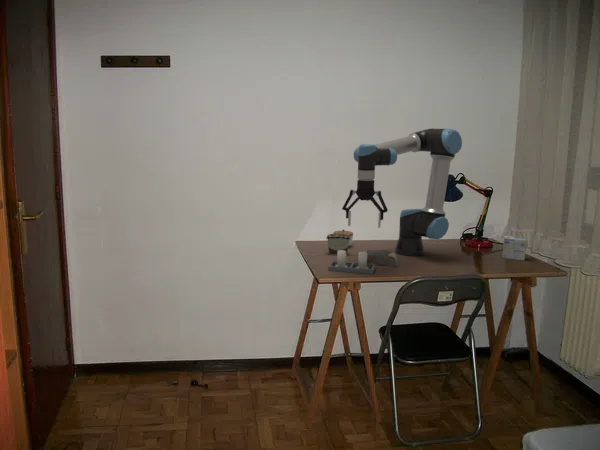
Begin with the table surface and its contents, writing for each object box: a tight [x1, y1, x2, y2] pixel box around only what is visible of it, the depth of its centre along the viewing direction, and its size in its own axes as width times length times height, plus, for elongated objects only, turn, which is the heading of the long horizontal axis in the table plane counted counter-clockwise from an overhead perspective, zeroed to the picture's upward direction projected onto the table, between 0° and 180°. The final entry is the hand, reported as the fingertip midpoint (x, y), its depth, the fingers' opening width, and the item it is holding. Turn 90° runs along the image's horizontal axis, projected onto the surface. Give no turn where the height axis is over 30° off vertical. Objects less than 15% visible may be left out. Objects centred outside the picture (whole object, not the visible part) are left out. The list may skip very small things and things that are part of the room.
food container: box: [326, 233, 350, 256], centre depth 262 cm, size 12×6×10 cm, turn 84°
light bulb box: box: [501, 235, 527, 261], centre depth 258 cm, size 11×7×11 cm, turn 65°
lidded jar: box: [332, 229, 354, 247], centre depth 277 cm, size 11×11×9 cm
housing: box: [327, 250, 376, 275], centre depth 234 cm, size 20×10×8 cm, turn 76°
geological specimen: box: [366, 249, 399, 267], centre depth 247 cm, size 11×6×15 cm
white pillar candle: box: [355, 251, 369, 269], centre depth 232 cm, size 6×6×8 cm
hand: (364, 226), depth 229 cm, fingers open, 13 cm apart
